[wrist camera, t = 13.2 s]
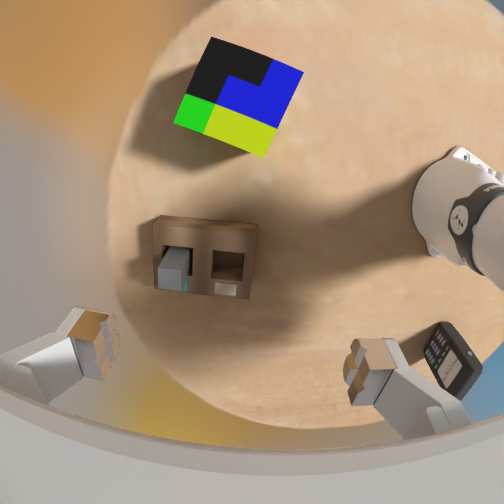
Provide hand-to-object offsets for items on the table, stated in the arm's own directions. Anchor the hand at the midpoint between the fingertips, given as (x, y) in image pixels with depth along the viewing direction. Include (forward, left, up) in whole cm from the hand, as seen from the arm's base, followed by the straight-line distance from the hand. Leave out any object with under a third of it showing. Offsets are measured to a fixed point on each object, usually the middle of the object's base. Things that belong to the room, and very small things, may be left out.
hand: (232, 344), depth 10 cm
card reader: (-42, +27, -34) cm, 60 cm away
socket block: (+5, +13, -34) cm, 37 cm away
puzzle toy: (+2, -9, -34) cm, 35 cm away
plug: (+8, +13, -34) cm, 37 cm away
